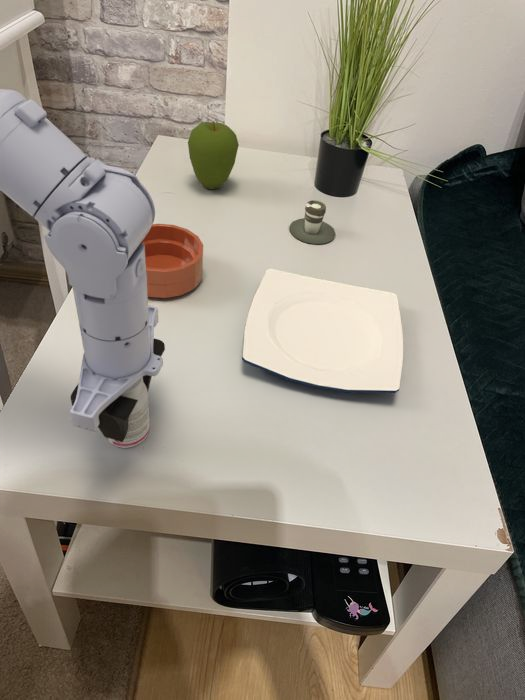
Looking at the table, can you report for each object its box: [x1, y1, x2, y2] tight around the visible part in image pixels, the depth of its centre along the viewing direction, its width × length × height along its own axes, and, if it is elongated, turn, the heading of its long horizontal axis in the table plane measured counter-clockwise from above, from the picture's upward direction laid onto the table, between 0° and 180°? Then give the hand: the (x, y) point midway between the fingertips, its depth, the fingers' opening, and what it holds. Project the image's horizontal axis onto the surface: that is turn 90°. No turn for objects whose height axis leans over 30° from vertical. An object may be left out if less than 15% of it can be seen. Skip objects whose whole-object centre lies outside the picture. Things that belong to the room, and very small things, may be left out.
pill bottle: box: [105, 377, 151, 449], centre depth 52 cm, size 5×5×8 cm
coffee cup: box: [288, 199, 336, 245], centre depth 86 cm, size 12×12×5 cm
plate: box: [241, 268, 404, 394], centre depth 68 cm, size 20×20×3 cm
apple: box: [187, 121, 240, 190], centre depth 90 cm, size 9×8×12 cm
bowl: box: [142, 223, 204, 299], centre depth 73 cm, size 11×11×5 cm
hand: (125, 416), depth 54 cm, fingers closed on pill bottle, 5 cm apart
